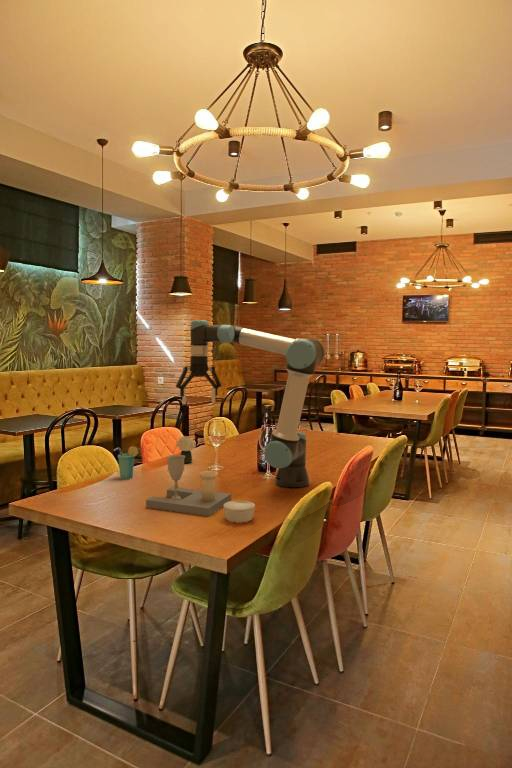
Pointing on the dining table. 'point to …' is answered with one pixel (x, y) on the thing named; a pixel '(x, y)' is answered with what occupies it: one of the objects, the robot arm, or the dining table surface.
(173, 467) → the chalice
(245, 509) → the ramekin
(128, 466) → the cup
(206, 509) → the notched board
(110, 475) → the dining table surface
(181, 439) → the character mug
